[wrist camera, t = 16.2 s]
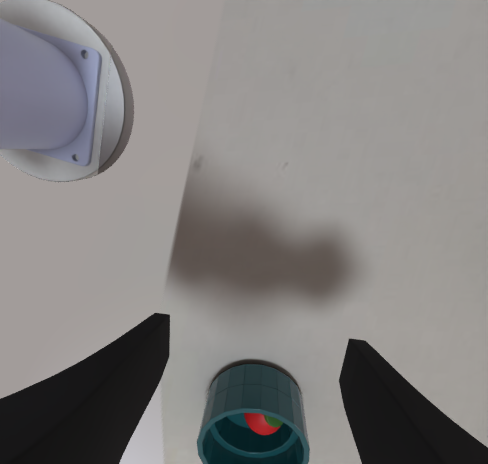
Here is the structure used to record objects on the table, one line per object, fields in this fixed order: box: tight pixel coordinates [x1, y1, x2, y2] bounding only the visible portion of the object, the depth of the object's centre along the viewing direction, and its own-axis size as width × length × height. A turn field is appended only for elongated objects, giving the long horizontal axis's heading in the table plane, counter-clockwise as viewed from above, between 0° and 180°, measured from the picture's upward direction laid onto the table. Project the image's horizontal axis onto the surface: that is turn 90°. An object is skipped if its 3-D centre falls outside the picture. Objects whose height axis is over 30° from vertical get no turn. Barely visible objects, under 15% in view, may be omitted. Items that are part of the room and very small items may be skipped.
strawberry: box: [244, 413, 283, 435], centre depth 21 cm, size 3×3×4 cm
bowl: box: [197, 364, 310, 464], centre depth 21 cm, size 8×8×4 cm
